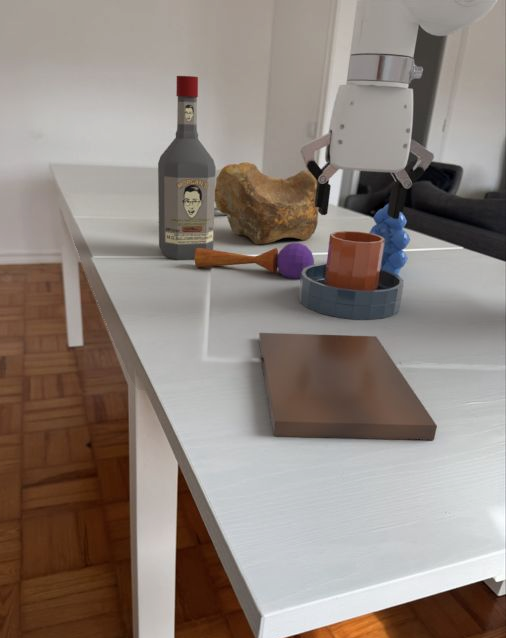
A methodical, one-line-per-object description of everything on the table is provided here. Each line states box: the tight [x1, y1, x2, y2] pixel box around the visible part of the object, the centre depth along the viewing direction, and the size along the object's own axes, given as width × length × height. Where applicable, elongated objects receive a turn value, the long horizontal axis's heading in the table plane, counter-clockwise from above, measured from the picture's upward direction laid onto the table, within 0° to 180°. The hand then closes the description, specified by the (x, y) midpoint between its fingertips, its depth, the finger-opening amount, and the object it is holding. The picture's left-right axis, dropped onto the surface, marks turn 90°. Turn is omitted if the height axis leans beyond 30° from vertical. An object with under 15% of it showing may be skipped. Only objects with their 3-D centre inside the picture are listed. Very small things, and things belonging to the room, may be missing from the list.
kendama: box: [194, 242, 315, 280], centre depth 92 cm, size 6×6×20 cm
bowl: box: [298, 262, 405, 321], centre depth 79 cm, size 14×14×4 cm
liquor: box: [157, 75, 216, 261], centre depth 97 cm, size 9×9×30 cm
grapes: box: [369, 203, 411, 275], centre depth 93 cm, size 12×7×12 cm, turn 11°
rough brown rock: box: [215, 162, 319, 245], centre depth 115 cm, size 23×17×15 cm
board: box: [258, 332, 438, 441], centre depth 56 cm, size 14×20×2 cm
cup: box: [324, 230, 385, 290], centre depth 77 cm, size 7×7×10 cm
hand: (357, 215), depth 74 cm, fingers open, 9 cm apart
